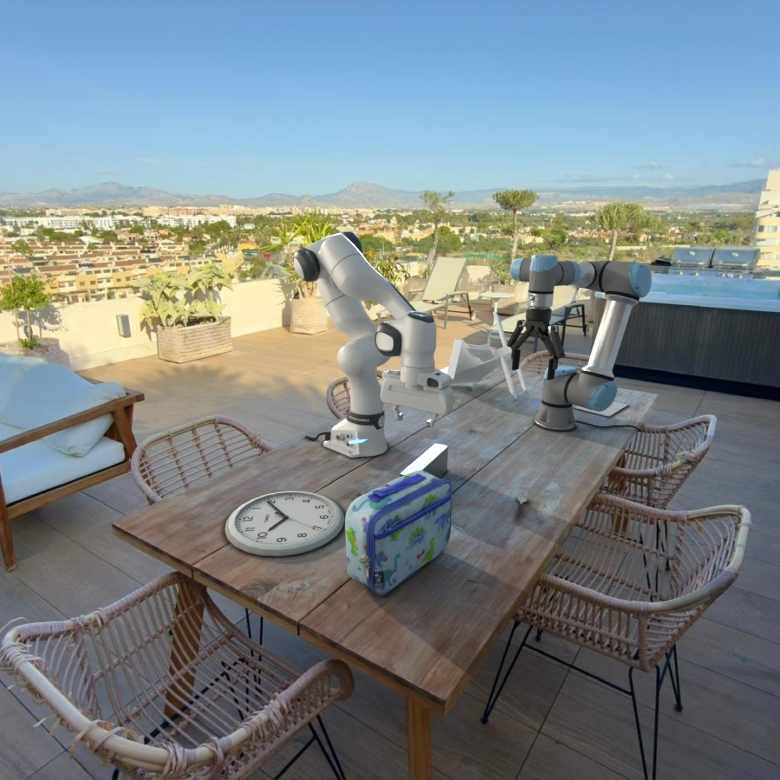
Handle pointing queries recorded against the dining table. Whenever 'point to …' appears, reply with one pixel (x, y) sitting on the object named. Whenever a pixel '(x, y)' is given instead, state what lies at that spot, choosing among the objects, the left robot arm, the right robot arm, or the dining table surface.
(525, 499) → the fork
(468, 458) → the dining table surface
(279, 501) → the wall clock
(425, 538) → the lunch box
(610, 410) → the invitation card
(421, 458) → the bar
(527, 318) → the right robot arm
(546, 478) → the dining table surface
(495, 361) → the white plastic object
